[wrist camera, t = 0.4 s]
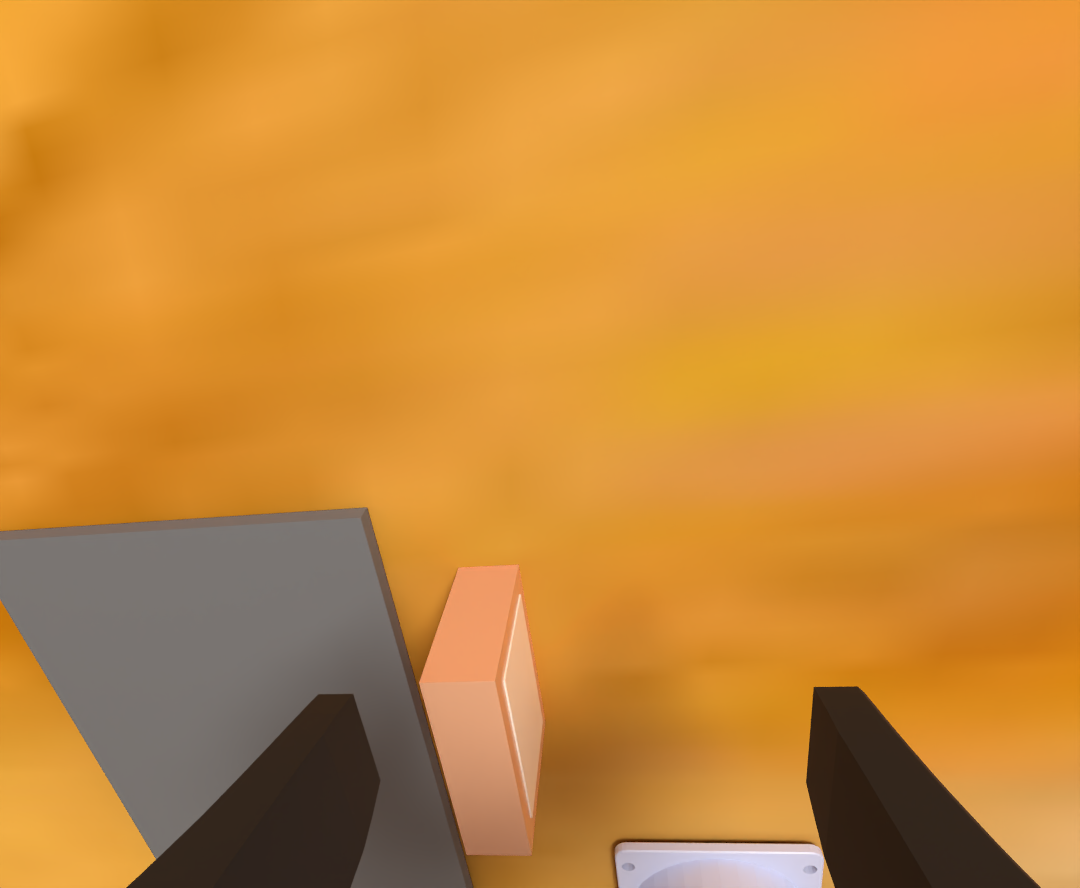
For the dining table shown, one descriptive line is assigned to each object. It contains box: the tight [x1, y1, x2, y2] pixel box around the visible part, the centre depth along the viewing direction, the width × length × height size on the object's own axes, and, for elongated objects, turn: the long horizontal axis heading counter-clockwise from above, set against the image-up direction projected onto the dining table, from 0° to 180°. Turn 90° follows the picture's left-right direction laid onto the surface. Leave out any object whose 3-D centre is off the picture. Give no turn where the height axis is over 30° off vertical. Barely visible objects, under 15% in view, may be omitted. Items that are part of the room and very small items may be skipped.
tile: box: [419, 565, 545, 856], centre depth 20 cm, size 7×2×5 cm, turn 7°
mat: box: [0, 508, 473, 888], centre depth 25 cm, size 20×14×1 cm
